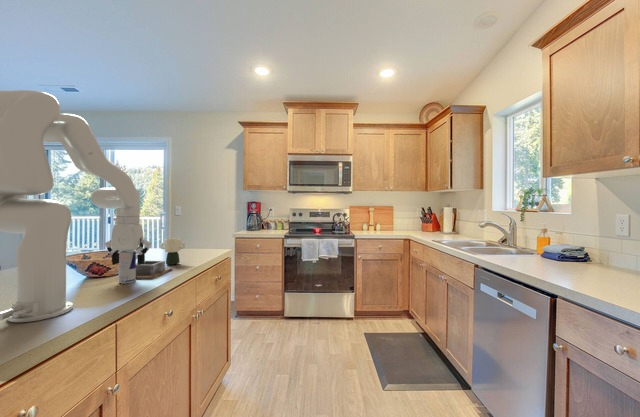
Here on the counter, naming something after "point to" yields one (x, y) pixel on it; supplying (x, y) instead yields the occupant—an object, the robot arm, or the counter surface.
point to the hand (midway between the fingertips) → (128, 264)
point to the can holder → (151, 269)
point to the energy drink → (127, 267)
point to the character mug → (172, 250)
